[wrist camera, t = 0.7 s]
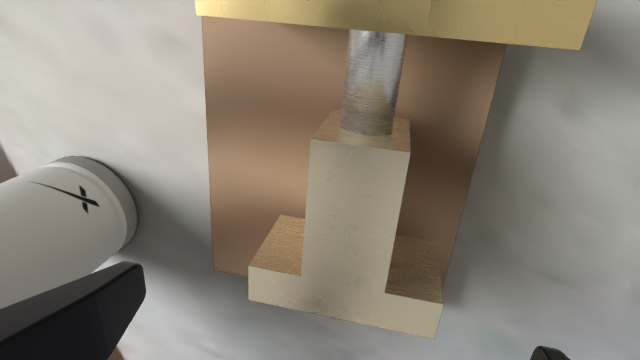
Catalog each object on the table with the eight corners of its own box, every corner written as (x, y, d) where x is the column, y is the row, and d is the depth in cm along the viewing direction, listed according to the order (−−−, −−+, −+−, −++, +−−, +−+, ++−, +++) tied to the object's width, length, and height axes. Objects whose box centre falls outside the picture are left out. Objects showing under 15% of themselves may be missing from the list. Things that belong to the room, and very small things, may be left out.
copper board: (433, 294, 21) (435, 314, 19) (225, 254, 22) (213, 269, 21) (528, -79, 14) (541, -89, 12) (214, -93, 16) (196, -103, 14)
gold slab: (520, 37, 14) (579, 50, 9) (261, 14, 15) (196, 14, 11) (533, -12, 13) (605, -27, 8) (262, -31, 15) (192, -53, 10)
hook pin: (428, 271, 17) (434, 339, 14) (279, 243, 18) (248, 299, 15) (516, -98, 12) (566, -149, 8) (293, -107, 13) (248, -155, 9)
